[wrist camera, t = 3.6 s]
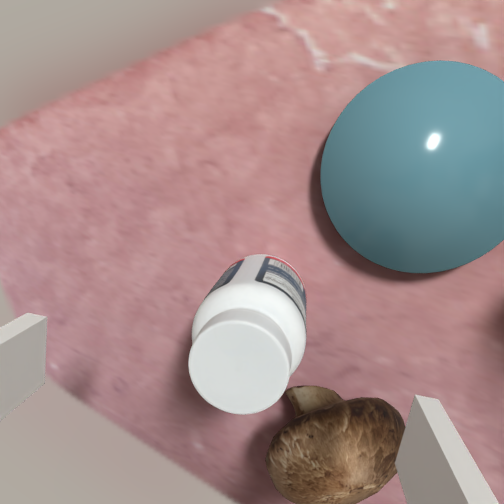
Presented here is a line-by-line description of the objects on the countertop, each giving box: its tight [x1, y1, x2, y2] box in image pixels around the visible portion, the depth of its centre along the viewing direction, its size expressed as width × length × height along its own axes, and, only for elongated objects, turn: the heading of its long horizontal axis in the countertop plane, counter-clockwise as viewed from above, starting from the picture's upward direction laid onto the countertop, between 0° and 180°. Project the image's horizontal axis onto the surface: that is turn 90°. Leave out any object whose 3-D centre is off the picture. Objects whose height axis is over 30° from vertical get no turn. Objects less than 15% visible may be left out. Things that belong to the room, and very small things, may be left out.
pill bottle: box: [188, 254, 306, 415], centre depth 19 cm, size 5×5×9 cm
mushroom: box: [265, 386, 405, 504], centre depth 22 cm, size 8×8×6 cm
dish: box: [320, 61, 504, 273], centre depth 20 cm, size 10×10×1 cm
